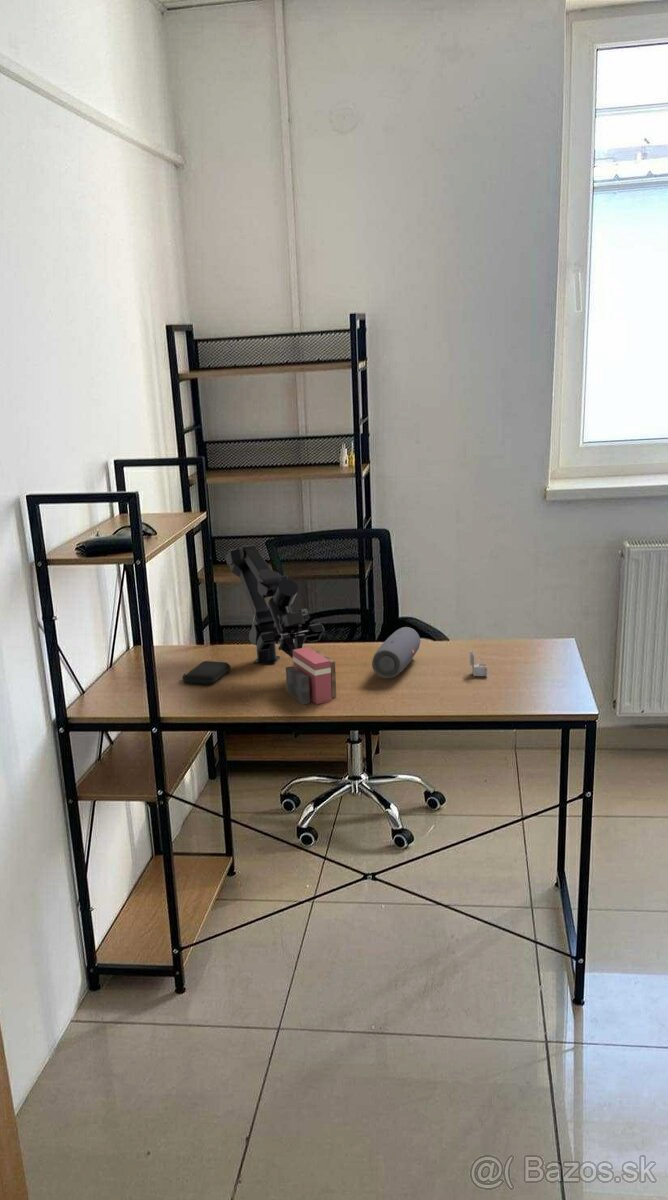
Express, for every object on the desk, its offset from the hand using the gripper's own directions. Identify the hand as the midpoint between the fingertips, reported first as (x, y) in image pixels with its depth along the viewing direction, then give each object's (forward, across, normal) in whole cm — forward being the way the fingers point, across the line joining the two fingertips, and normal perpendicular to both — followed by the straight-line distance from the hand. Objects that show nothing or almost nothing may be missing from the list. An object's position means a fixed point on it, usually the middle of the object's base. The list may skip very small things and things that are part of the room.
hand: (300, 663), depth 246 cm
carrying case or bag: (-10, -20, +20) cm, 31 cm away
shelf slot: (+10, 0, -1) cm, 10 cm away
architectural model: (+16, +50, -6) cm, 53 cm away
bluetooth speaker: (+6, +29, +4) cm, 30 cm away
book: (+10, 0, 0) cm, 10 cm away
